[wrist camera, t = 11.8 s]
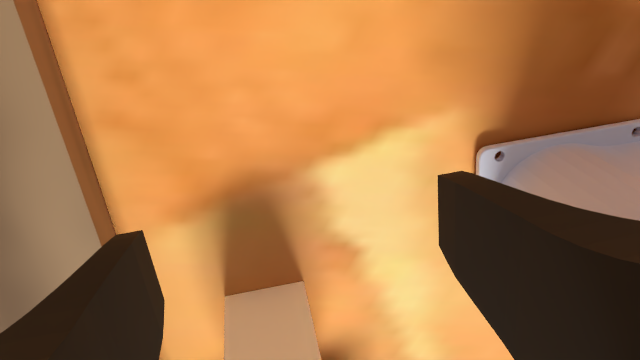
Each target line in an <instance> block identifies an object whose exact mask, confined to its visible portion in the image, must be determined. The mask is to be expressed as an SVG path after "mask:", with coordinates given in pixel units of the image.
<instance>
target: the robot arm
mask: <svg viewBox="0 0 640 360" xmlns="http://www.w3.org/2000/svg"><path fill="white" fill-rule="evenodd" d="M634 128H636V130H635V132H634V133H633V134H632V131H633V130H634ZM499 151H501V154H500V156H499V157H498V158H496V159H495V158H494V157H495V154H496V153H497V152H499ZM438 218H439V246H440V248H441V250H442V252H443V254H444V256H445V258H446V260H447V262H448V264H449V266H450V268H451V270H452V272H453V273H454V275H455V277H456V278H457V280H458V281H459V283H460V284H461V285H462V287H463V288H464V290H465V291H466V292H467V294H468V295H469V297H470V298H471V299H472V301H473V302H474V304H475V305H476V306H477V308H478V309H479V310H480V312H481V313H482V314H483V316H484V317H485V319H486V320H487V321H488V323H489V324H490V325H491V327H492V328H493V329H494V331H495V332H496V334H497V335H498V336H499V338H500V339H501V340H502V342H503V343H504V345H505V346H506V348H507V349H508V351H509V352H510V354H511V355H512V357H513V358H514V360H640V119H636V120H631V121H625V122H619V123H614V124H608V125H602V126H597V127H591V128H585V129H579V130H574V131H568V132H562V133H557V134H551V135H545V136H540V137H534V138H528V139H523V140H517V141H511V142H505V143H500V144H494V145H488V146H485V147H482V148H481V149H480V150H479V151H478V153H477V156H476V175H475V174H472V173H468V172H464V171H459V172H453V173H448V174H442V175H438ZM163 325H164V297H163V294H162V291H161V288H160V285H159V281H158V278H157V275H156V272H155V269H154V266H153V262H152V259H151V256H150V253H149V250H148V247H147V243H146V240H145V237H144V234H143V231H142V230H141V231H135V232H130V233H125V234H119V235H115V236H114V237H113V238H111V239H110V240H109V241H108V242H106V243H105V244H104V245H103V246H102V247H101V248H100V249H99V250H98V251H97V252H95V253H94V254H93V255H92V256H91V257H90V258H89V259H88V260H87V261H86V262H85V263H84V264H83V265H82V266H80V267H79V268H78V269H77V270H76V271H75V272H74V273H73V274H72V275H71V276H70V277H69V278H68V279H66V280H65V281H64V282H63V283H62V284H61V285H60V286H59V287H57V288H56V289H55V290H54V291H53V292H52V293H50V294H49V295H48V296H47V297H46V298H45V299H43V300H42V301H41V302H40V303H39V304H37V305H36V306H35V307H34V308H33V309H32V310H30V311H29V312H28V313H27V314H25V315H24V316H23V317H22V318H20V319H19V320H18V321H16V322H15V323H14V324H12V325H11V326H10V327H8V328H7V329H6V330H4V331H3V332H1V333H0V360H159V355H160V350H161V344H162V339H163Z"/></svg>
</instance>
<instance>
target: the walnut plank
mask: <svg viewBox="0 0 640 360" xmlns="http://www.w3.org/2000/svg"><path fill="white" fill-rule="evenodd" d="M115 235H116V233H115V230H114V227H113V224H112V222H111V219H110V216H109V213H108V210H107V207H106V204H105V201H104V198H103V195H102V192H101V189H100V186H99V183H98V180H97V178H96V175H95V172H94V169H93V166H92V163H91V160H90V157H89V154H88V151H87V148H86V145H85V142H84V139H83V136H82V133H81V131H80V128H79V125H78V122H77V119H76V116H75V113H74V110H73V107H72V104H71V101H70V98H69V95H68V92H67V89H66V87H65V84H64V81H63V78H62V75H61V72H60V69H59V66H58V63H57V60H56V57H55V54H54V51H53V48H52V45H51V43H50V40H49V37H48V34H47V31H46V28H45V25H44V22H43V19H42V16H41V13H40V10H39V7H38V4H37V1H36V0H0V333H1V332H3V331H4V330H6V329H7V328H8V327H10V326H11V325H12V324H14V323H15V322H16V321H18V320H19V319H20V318H22V317H23V316H24V315H25V314H27V313H28V312H29V311H30V310H32V309H33V308H34V307H35V306H36V305H37V304H39V303H40V302H41V301H42V300H43V299H45V298H46V297H47V296H48V295H49V294H50V293H52V292H53V291H54V290H55V289H56V288H57V287H59V286H60V285H61V284H62V283H63V282H64V281H65V280H66V279H68V278H69V277H70V276H71V275H72V274H73V273H74V272H75V271H76V270H77V269H78V268H79V267H80V266H82V265H83V264H84V263H85V262H86V261H87V260H88V259H89V258H90V257H91V256H92V255H93V254H94V253H95V252H97V251H98V250H99V249H100V248H101V247H102V246H103V245H104V244H105V243H106V242H108V241H109V240H110V239H111V238H113V237H114V236H115Z"/></svg>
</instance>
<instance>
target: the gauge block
mask: <svg viewBox="0 0 640 360" xmlns="http://www.w3.org/2000/svg"><path fill="white" fill-rule="evenodd" d="M224 360H321V355H320V351H319V346H318V342H317V338H316V333H315V329H314V325H313V320H312V316H311V311H310V307H309V303H308V298H307V294H306V290H305V285H304V281H301V282H296V283H291V284H286V285H280V286H275V287H270V288H265V289H260V290H255V291H250V292H245V293H240V294H234V295H229V296H225V314H224Z"/></svg>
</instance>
